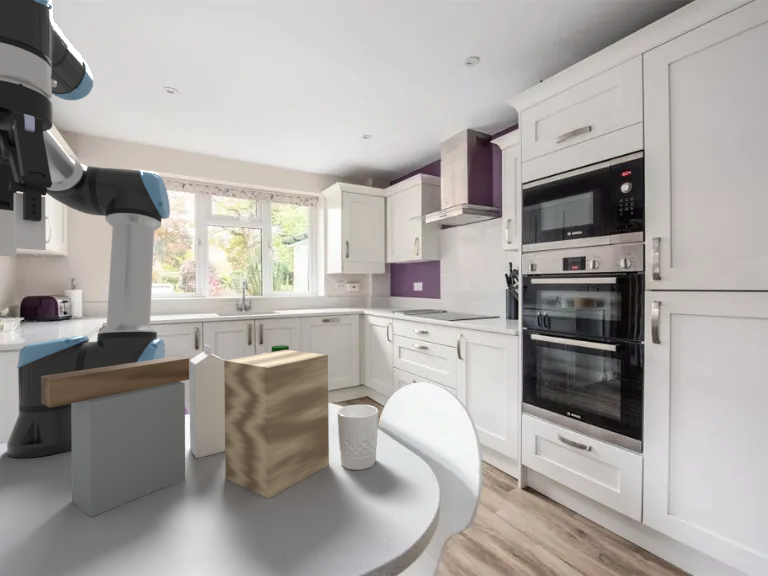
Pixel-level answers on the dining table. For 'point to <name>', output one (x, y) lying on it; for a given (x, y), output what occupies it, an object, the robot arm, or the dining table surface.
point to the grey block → (127, 446)
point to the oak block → (275, 419)
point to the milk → (207, 404)
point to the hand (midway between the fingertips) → (15, 252)
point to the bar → (111, 380)
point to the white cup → (358, 436)
